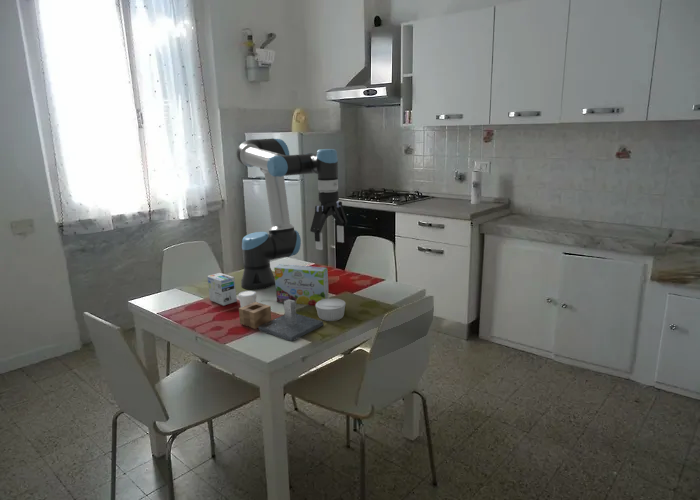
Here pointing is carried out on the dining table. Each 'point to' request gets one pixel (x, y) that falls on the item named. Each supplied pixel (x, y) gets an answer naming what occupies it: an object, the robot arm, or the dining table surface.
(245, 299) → the white tapered pot
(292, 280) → the snack box
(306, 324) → the shaft plate
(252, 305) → the walnut collar
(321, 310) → the ramekin
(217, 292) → the light bulb box
